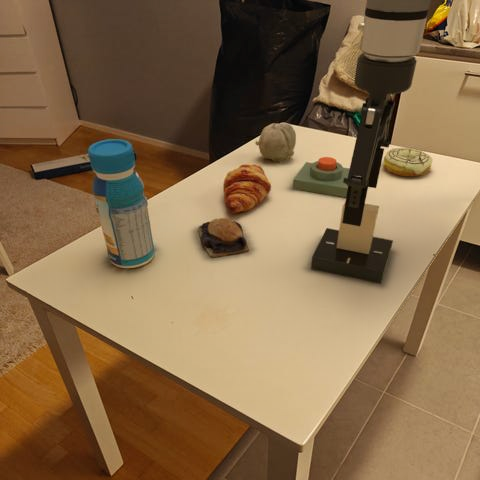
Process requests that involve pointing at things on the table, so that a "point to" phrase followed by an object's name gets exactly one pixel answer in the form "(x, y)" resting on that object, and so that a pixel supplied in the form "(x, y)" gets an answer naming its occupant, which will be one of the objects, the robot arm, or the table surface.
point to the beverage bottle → (121, 203)
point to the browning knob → (358, 231)
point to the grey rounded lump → (277, 142)
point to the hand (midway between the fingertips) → (360, 203)
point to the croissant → (245, 187)
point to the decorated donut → (407, 162)
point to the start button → (327, 164)
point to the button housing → (322, 180)
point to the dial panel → (351, 258)
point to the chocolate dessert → (222, 237)
